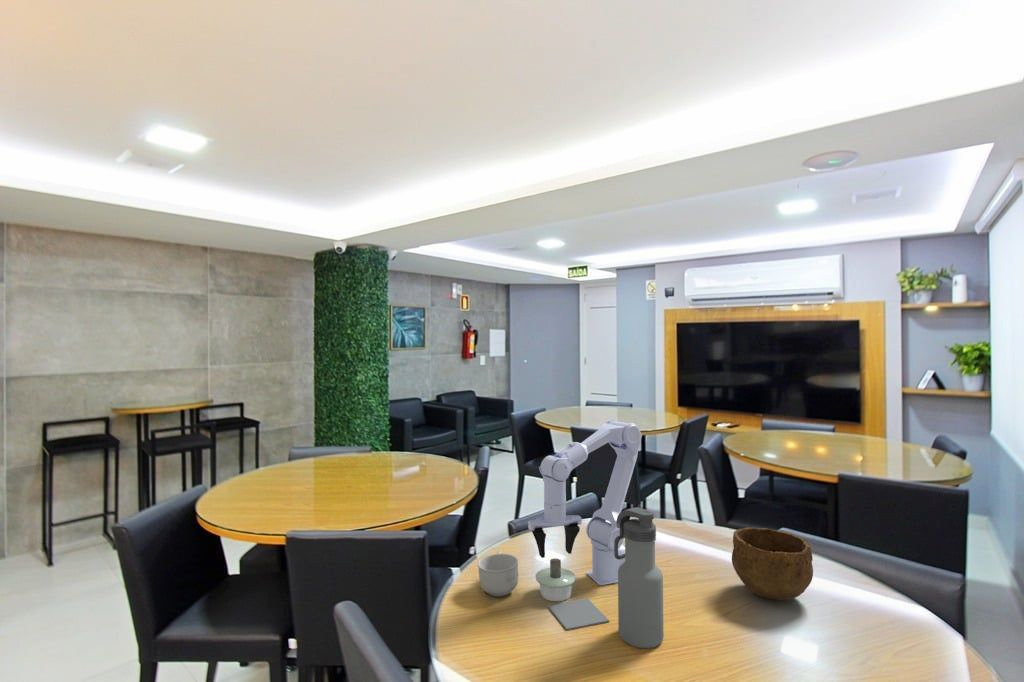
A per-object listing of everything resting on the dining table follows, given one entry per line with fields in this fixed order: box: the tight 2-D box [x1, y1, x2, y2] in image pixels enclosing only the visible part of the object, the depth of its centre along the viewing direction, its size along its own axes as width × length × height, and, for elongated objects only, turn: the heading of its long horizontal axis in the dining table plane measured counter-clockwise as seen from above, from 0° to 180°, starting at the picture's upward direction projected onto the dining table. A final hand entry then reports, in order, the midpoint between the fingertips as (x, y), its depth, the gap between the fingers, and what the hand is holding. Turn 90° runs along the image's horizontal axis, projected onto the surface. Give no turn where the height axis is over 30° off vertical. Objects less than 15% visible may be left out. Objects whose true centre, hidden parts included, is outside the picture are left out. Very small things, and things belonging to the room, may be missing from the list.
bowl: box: [731, 527, 814, 601], centre depth 129 cm, size 19×19×15 cm
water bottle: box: [614, 507, 665, 649], centre depth 111 cm, size 10×10×28 cm
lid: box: [535, 558, 576, 588], centre depth 130 cm, size 10×10×5 cm
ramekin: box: [539, 583, 573, 602], centre depth 130 cm, size 9×9×4 cm
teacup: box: [477, 550, 519, 597], centre depth 133 cm, size 14×11×8 cm
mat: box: [547, 598, 610, 631], centre depth 120 cm, size 11×11×1 cm
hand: (555, 554), depth 130 cm, fingers open, 7 cm apart
